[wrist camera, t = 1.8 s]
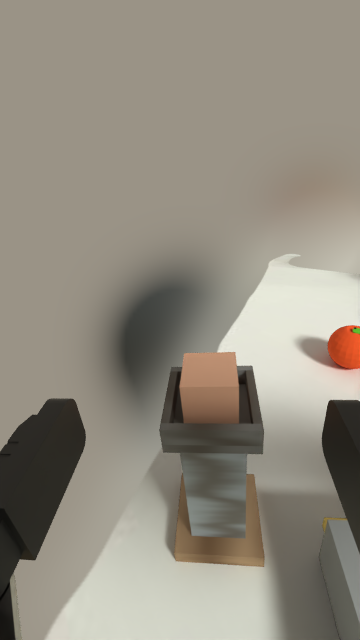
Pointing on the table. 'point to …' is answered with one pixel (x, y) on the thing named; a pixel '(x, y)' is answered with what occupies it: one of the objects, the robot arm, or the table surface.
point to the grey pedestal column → (216, 479)
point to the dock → (342, 575)
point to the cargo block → (210, 388)
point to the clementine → (345, 347)
